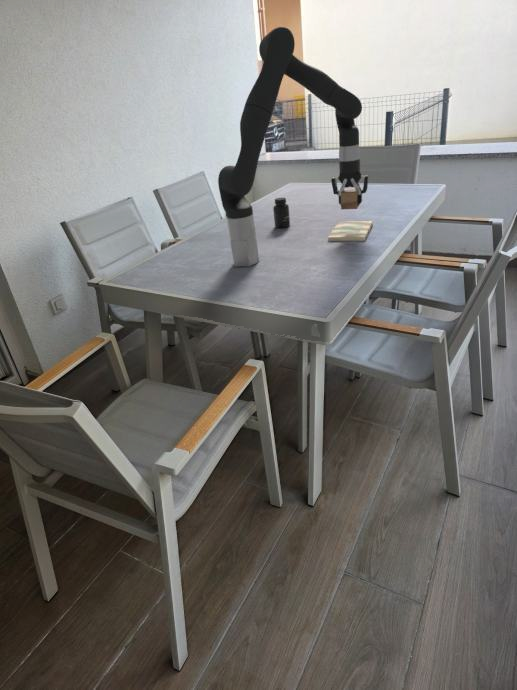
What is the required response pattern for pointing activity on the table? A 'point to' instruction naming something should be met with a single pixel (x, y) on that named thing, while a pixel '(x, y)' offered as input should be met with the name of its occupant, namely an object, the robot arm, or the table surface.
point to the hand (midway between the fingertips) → (350, 204)
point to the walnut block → (349, 199)
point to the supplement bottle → (281, 213)
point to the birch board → (350, 231)
